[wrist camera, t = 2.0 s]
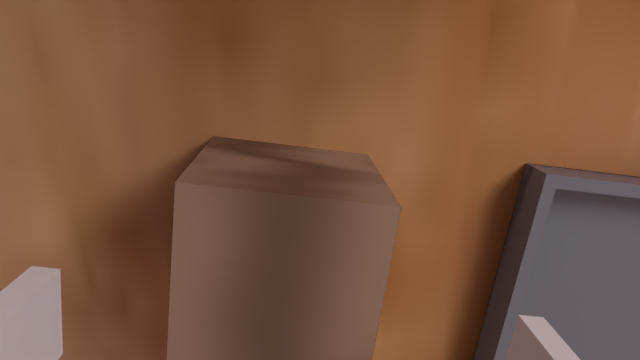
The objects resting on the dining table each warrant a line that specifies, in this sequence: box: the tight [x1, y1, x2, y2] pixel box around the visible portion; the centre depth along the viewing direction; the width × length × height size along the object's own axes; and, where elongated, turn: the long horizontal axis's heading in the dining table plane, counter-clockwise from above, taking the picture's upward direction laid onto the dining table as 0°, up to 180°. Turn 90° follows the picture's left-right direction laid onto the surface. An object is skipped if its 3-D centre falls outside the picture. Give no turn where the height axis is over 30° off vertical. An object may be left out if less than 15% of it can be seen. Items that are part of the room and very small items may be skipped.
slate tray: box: [474, 163, 640, 360], centre depth 23 cm, size 14×14×2 cm
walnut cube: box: [167, 136, 402, 360], centre depth 18 cm, size 7×7×7 cm
